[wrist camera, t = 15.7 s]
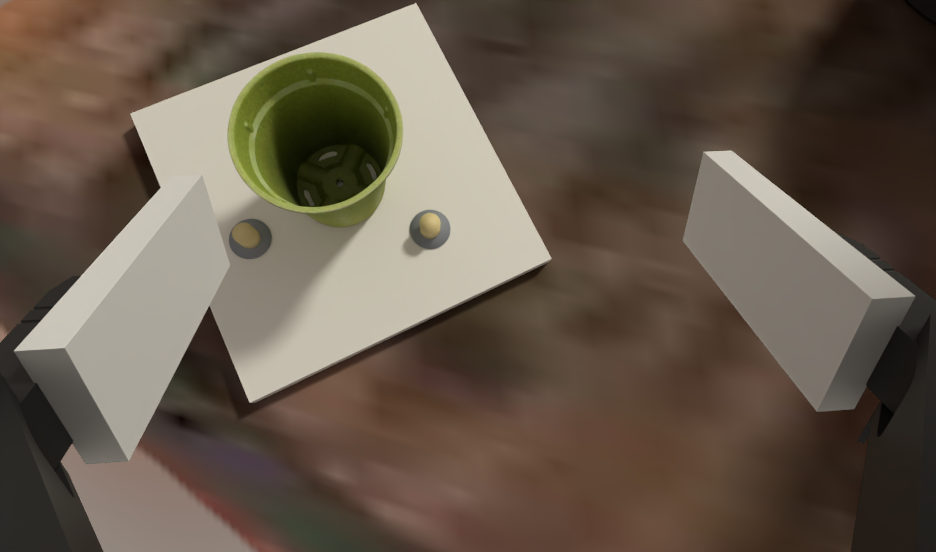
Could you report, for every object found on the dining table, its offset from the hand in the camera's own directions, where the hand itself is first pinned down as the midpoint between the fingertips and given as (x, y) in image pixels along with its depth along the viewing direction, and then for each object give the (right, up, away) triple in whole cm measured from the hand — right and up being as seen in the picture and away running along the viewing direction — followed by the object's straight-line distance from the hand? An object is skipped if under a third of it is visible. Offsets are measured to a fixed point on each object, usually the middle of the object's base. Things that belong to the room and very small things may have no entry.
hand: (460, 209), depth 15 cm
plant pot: (-9, +4, +24) cm, 26 cm away
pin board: (-9, +4, +25) cm, 27 cm away
